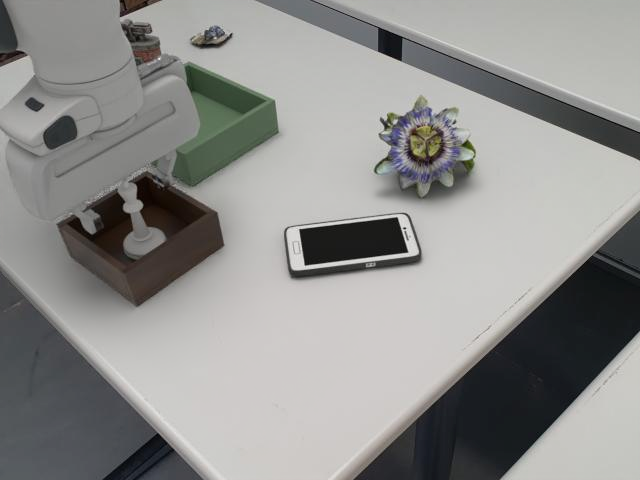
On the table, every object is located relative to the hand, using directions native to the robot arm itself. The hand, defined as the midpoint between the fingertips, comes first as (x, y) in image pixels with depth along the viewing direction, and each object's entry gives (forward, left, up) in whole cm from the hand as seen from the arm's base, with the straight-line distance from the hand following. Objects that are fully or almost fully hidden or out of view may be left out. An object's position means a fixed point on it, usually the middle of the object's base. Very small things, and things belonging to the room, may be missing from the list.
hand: (130, 206), depth 75 cm
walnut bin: (0, 0, -6) cm, 6 cm away
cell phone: (+18, +15, -6) cm, 25 cm away
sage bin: (-14, +19, -6) cm, 24 cm away
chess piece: (0, 0, -6) cm, 6 cm away
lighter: (-30, +23, -7) cm, 38 cm away
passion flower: (+16, +31, -7) cm, 36 cm away
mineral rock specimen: (-34, +40, -7) cm, 53 cm away
